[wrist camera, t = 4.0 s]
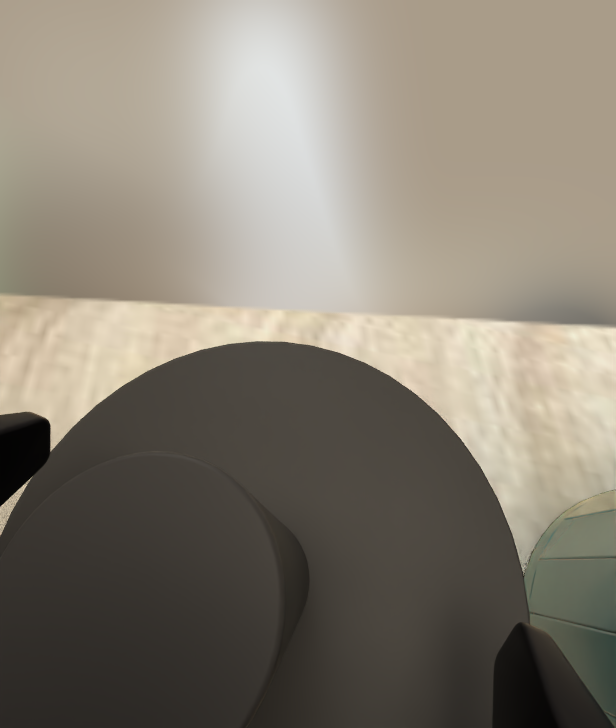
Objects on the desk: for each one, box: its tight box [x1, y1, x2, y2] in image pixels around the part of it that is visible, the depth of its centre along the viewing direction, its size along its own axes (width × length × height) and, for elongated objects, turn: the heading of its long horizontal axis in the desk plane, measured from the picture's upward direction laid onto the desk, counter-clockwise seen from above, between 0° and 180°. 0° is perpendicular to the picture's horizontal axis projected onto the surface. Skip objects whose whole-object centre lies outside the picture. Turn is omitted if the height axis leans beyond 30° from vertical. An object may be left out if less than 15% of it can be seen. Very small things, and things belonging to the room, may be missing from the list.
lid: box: [0, 341, 530, 728], centre depth 6 cm, size 12×12×6 cm
